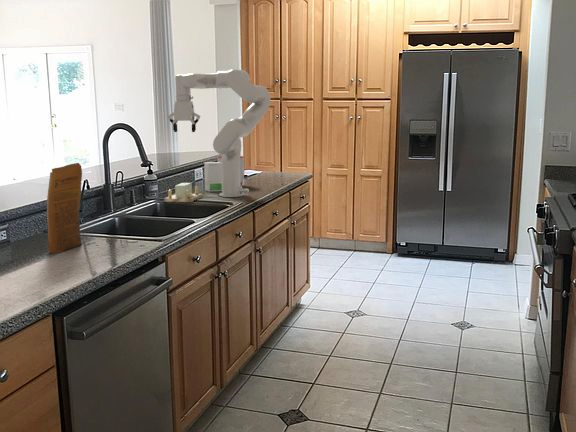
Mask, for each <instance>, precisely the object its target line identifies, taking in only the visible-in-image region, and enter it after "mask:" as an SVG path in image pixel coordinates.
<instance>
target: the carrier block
mask: <svg viewBox="0 0 576 432" xmlns="http://www.w3.org/2000/svg"><path fill="white" fill-rule="evenodd" d="M186 190H189V196H190V195H192V194H193V191H192V190H193V186H192V182H180V183H179V184H176V185H175V186H174V191H175V193H174V194H176V198H186Z"/></svg>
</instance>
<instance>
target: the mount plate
mask: <svg viewBox="0 0 576 432" xmlns="http://www.w3.org/2000/svg"><path fill="white" fill-rule="evenodd" d="M172 193H173V191H172V189H168V191H167V195H168V196H167V197H165V198H163V201H164V202H167V203H169V202H170V203H175V202H177V203H178V202H179V203H180V202H181V203H193V202H194V200H195V201H196V199H197V200H199V199H201V198H202V197H203V194H202V193H199V187H198V185H195V186H194V193H192V195H190V196H189V190H186V198H176V193H174V194H172Z"/></svg>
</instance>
